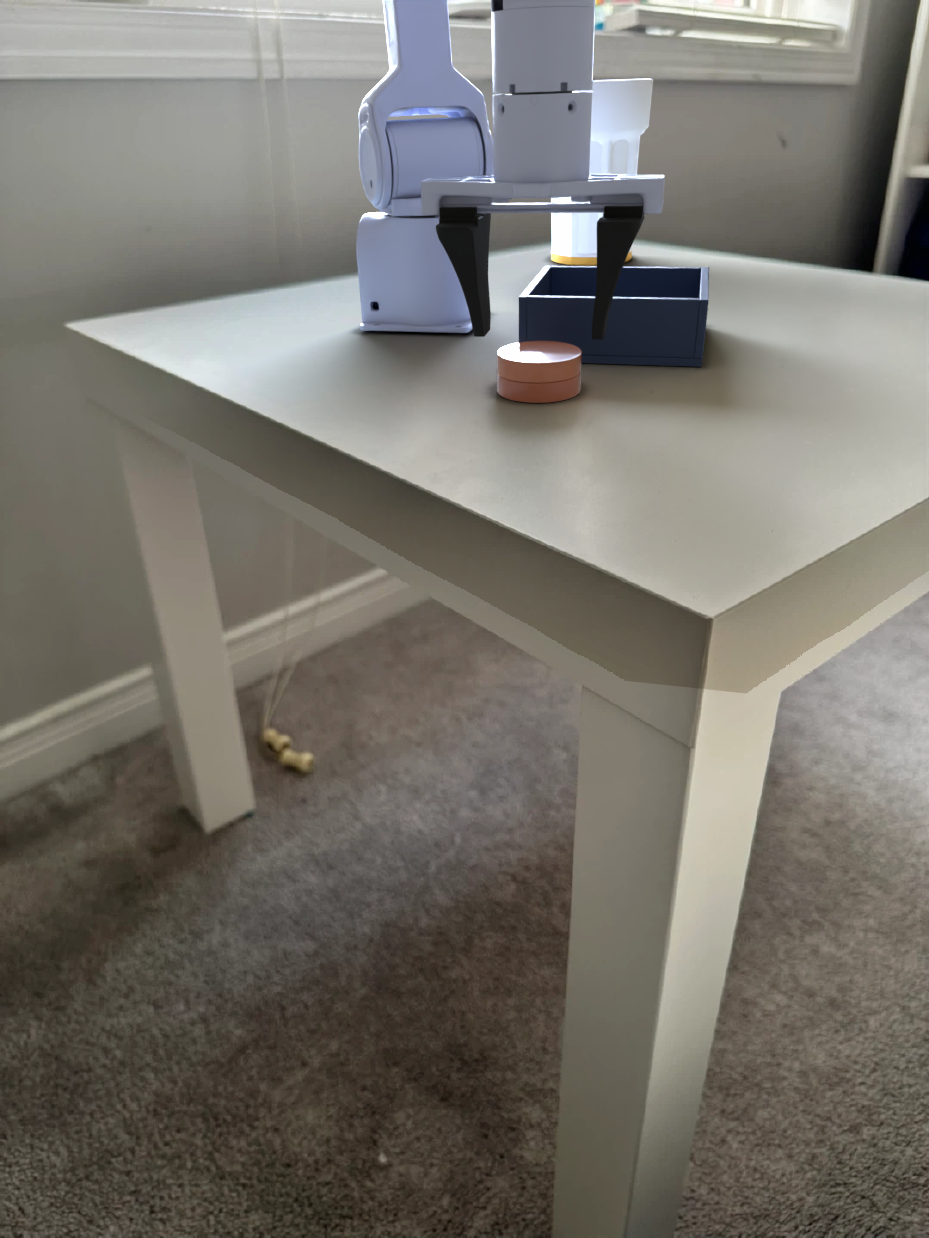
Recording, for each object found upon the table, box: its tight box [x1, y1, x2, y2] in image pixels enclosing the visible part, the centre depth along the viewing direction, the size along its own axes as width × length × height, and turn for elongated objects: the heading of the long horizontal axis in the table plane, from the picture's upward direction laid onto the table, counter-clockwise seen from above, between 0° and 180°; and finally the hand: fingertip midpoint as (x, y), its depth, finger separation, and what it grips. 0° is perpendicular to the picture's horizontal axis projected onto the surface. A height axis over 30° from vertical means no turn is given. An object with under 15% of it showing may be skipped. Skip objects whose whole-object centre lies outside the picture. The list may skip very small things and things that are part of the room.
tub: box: [518, 265, 710, 368], centre depth 70 cm, size 13×12×5 cm
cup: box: [550, 78, 654, 266], centre depth 99 cm, size 11×11×17 cm
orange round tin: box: [496, 341, 583, 404], centre depth 60 cm, size 6×6×3 cm
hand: (539, 334), depth 59 cm, fingers open, 7 cm apart
